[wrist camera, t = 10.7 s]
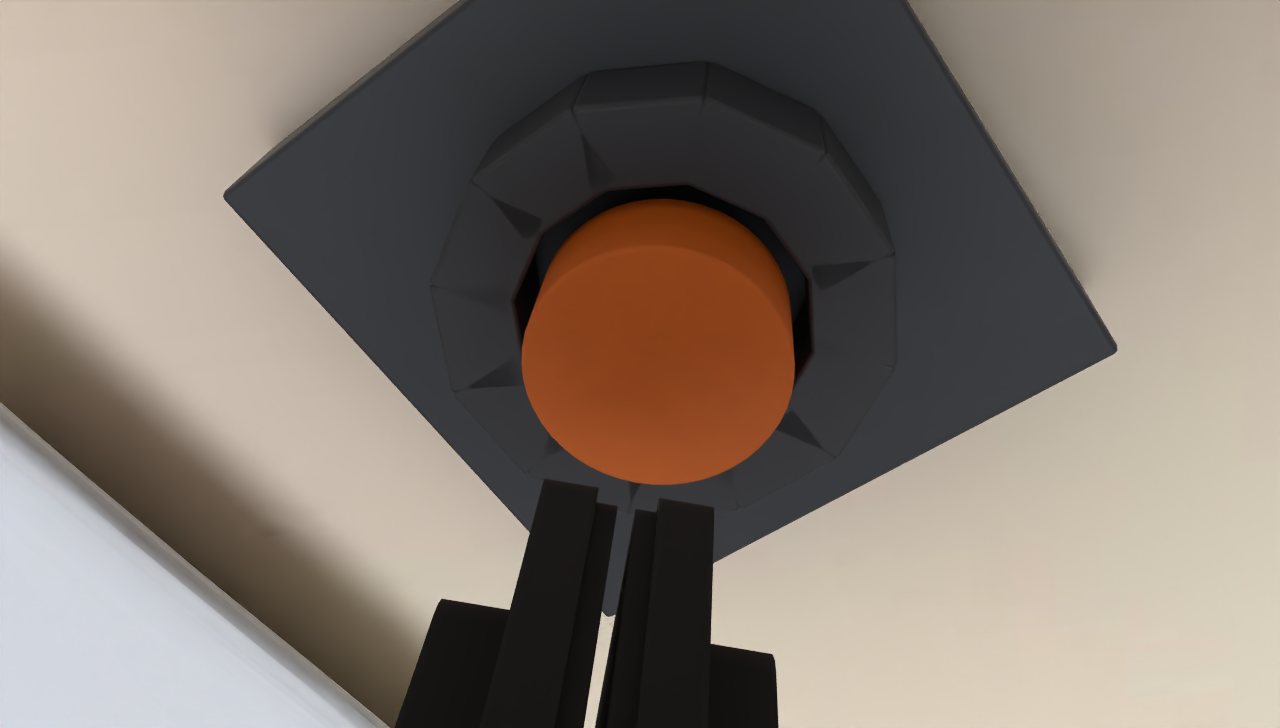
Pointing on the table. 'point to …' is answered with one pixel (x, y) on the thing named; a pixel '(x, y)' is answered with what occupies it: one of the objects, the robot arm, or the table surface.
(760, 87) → the button block
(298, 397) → the table surface
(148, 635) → the tray
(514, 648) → the robot arm
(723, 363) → the button
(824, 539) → the table surface
